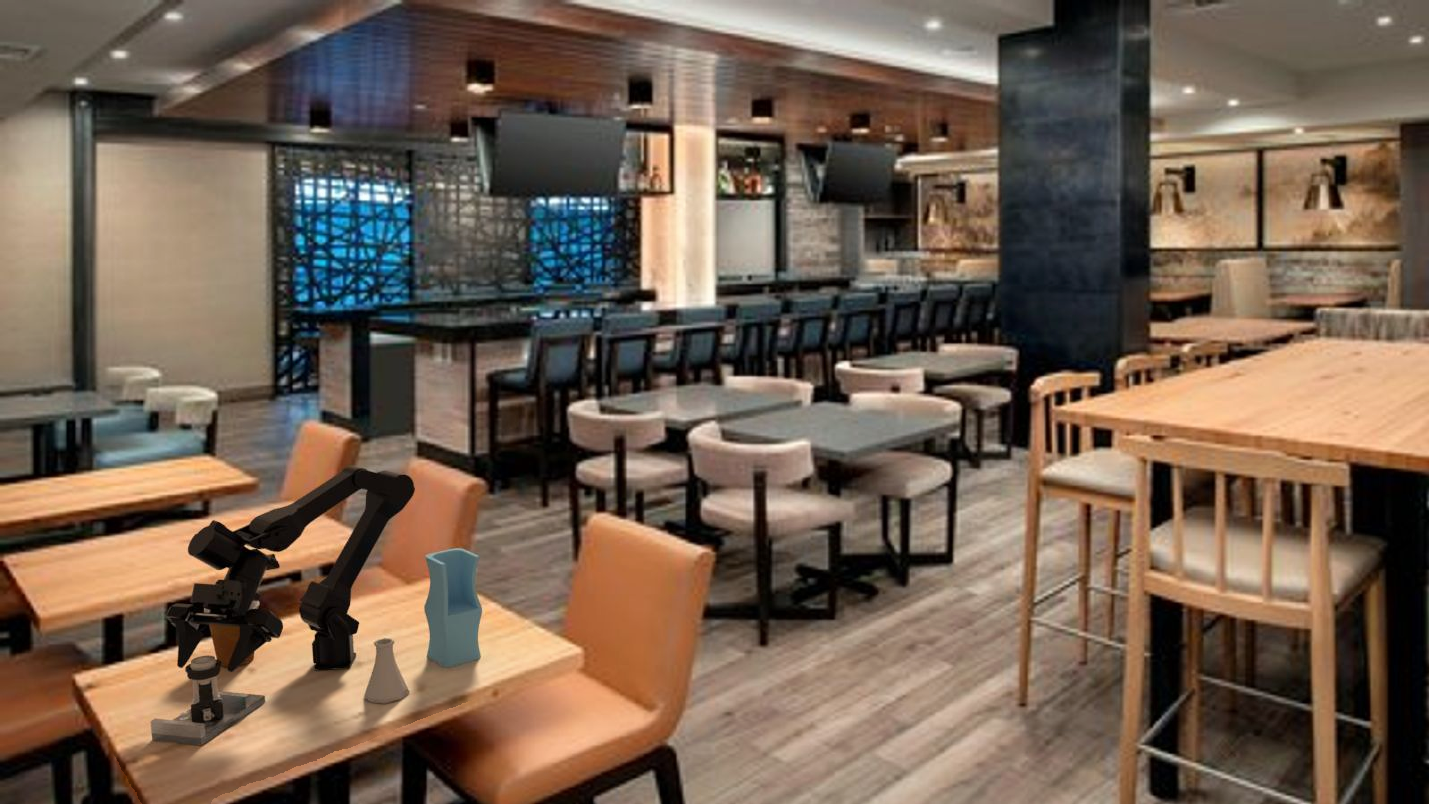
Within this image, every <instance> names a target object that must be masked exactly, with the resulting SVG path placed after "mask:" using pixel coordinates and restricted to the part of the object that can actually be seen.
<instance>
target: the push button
mask: <svg viewBox="0 0 1429 804" xmlns="http://www.w3.org/2000/svg"><path fill="white" fill-rule="evenodd" d="M221 667H222V662H221V661H220V660H217V658H216V657H215V656H213V655H200V656H198V657H195V658H193V659H191V661H190V663H189V664H186V665H185V666H184V670H185V673H186V675H187V679H189V680H192V691H193V692H192V693H193V699H192V701H191V702H192V703H190V709H191V711H188V710H186V711H187V712H186V711H185V712H179V716H180V715H185V714H191V716H189V717H185V718H180V721H182V720H187V719H188V720H189V719H192V722H198V721H203V720H205V721H207V720H211V719H214V718H222V717H223V716H224V715H223V703H222V698H220V695H218V691H219V690H218V677H217V676H218V675H219V674H220V673H221ZM211 680H212V681H211ZM213 691H214V698H213ZM198 692H199V696H198ZM199 701H200V702H199ZM183 713H184V714H183Z"/></svg>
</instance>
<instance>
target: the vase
mask: <svg viewBox="0 0 1429 804" xmlns="http://www.w3.org/2000/svg"><path fill="white" fill-rule="evenodd" d="M424 557H425V560H426V565H427V568H428V572H429V573H428V574H429V590H428V594H427V598H426V602H425V603H424V608H423V609H424V615H425V617H426V621H427V625H428V630H429V632H428V633H429V640H428V641H429V643H428V648H427V649H428V650H427V652H426V653H427V654H426V657H427V658H429V659H431V660H432V661H434V662H435V663H437V664H438V665H440V666H441V667H445V668H452V667H456V666H459V665H462V664H466V663H469V662H473V661H475V660H479V659H481V657H482V655H481V651H480V645H479V629H480V623H481V619H482V615H483V607H482V604H481V602H480V600H479V596H478V593H477V589H476V573H477V569H478V564H479V562H480V561H479V560H480V555H477V554H475V553H474V552H472V551H468V550H466V549H464V548H460V547H456V548H451V549H446V550H441V551H437V552H431V553H428V554H426V555H424Z"/></svg>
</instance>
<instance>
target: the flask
mask: <svg viewBox="0 0 1429 804" xmlns="http://www.w3.org/2000/svg"><path fill="white" fill-rule="evenodd" d="M394 644H395V640H394V639H393V638H389V637H383V638H379V639H377V640H375V641H374V642H373V645H374V646H375V652H376V653H375V658H374V665H373V669H372V671H371V674H370V676H369V677H370V678H369V681H368V683H367V685H366V689H365V692H364V694H363V697H364V698H365V699H366V700H367V701H368V702H369V703H378V704H389V703H392V702H397V701H398V700H402V699H403V698H404V697H406V696H407V695H408V694H409V693H410V690H409V688H408V685H407V683H406V682H405V680H404V677H403V675H402V673H401V671H400V669H399V666H398V663H397V662H396V658H395V654H394Z"/></svg>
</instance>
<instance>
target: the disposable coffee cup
mask: <svg viewBox="0 0 1429 804" xmlns="http://www.w3.org/2000/svg"><path fill="white" fill-rule="evenodd" d="M259 606H260V601H259V600H258V601H253V602H252V604H251V607H250V609H259ZM250 609H249V610H250ZM203 612H204V613H210V610H209V609H205V608H204V607H203ZM217 620H218V619H217ZM208 626H209V630H210V635H211V639H212V644H213V648H214V653H215V656H216V657H215V659H217V660H220V661H221V662H222V666H221V667H222V668H227V667H228V664H229V661H230V658H231V656H232V653H233V651H234V649H235V646H236V644H237V642H238V639H239V627H235V626H221V625H208ZM254 659H255V651H254V652H253V653H252V654H251V655H250V656H249V657H248V658H247V659H246V660H244V661H243V662H242V663H241V664H240V665H239V666H244V665H246V664H250V663H251V662H252V661H254ZM239 666H238V667H239Z"/></svg>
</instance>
